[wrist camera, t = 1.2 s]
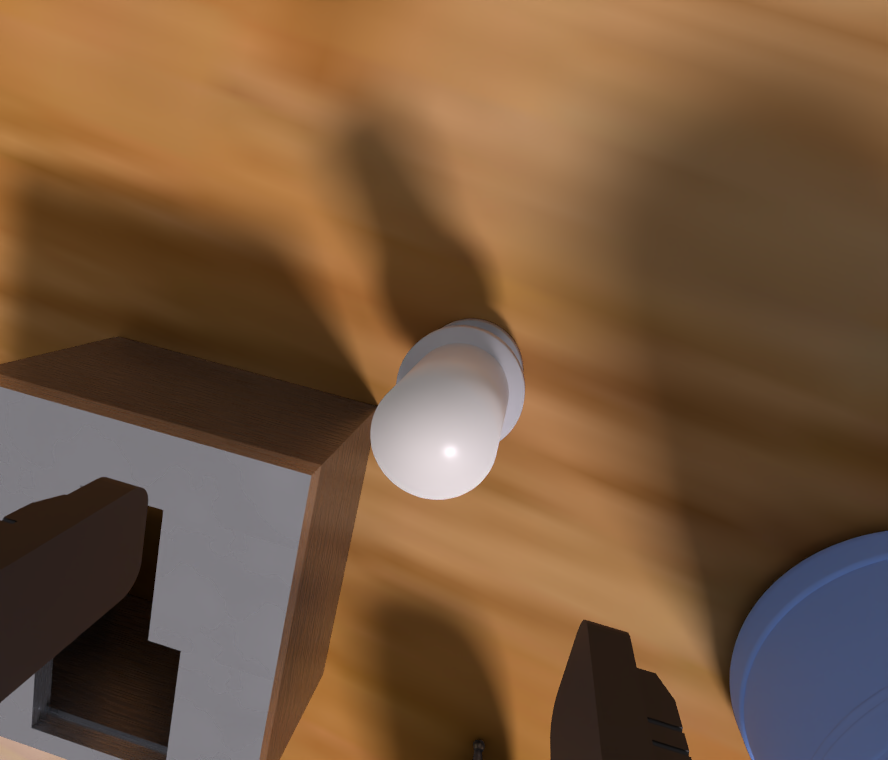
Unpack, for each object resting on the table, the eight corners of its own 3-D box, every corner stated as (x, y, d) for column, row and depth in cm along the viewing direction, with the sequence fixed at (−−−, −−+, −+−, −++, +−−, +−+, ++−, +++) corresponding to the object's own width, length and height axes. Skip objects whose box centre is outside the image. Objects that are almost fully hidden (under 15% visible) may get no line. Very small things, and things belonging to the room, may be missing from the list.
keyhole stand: (117, 336, 32) (-43, 374, 23) (378, 406, 30) (311, 475, 22) (94, 601, 36) (-50, 718, 27) (323, 674, 34) (247, 822, 26)
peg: (430, 301, 29) (368, 338, 19) (540, 329, 28) (537, 381, 18) (407, 406, 30) (338, 491, 20) (511, 434, 30) (494, 536, 20)
